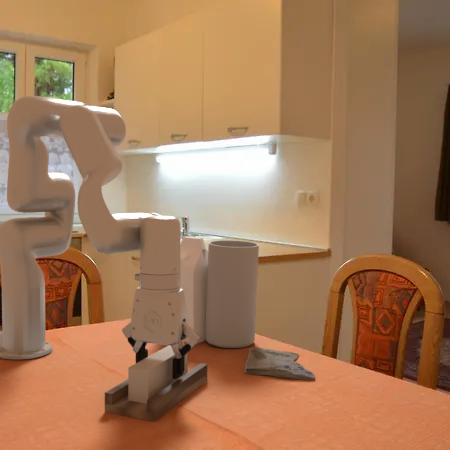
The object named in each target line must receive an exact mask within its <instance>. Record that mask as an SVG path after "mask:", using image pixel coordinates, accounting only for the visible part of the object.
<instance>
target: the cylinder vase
mask: <svg viewBox="0 0 450 450" xmlns="http://www.w3.org/2000/svg"><path fill="white" fill-rule="evenodd" d="M259 249H260V244H259V243H257V242H253V241H248V240H246V241H245V240H244V241H243V240H233V239H232V240H231V239H230V240H224V239H223V240H212V241H209V242H208V249H207V251H208V274H207V301H206V328H205V339H206V341H205V342H207V343H208V344H210V345H211V346H214V347H217V348H218V347H219V348H224V349H243V348H247V347H249V346H251V345H253V344H254V343H255V341H256V340H255V336H256V335H255V334H256V315H257V297H258V295H257V294H258V275H259V272H258V271H259V251H260V250H259Z"/></svg>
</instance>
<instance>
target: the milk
mask: <svg viewBox="0 0 450 450" xmlns="http://www.w3.org/2000/svg"><path fill="white" fill-rule="evenodd" d="M207 274H208V249H207V248H206V245H205V241H204V238H202V237H195V236H182V238H181V240H180V289H183V292H184V296H185V302H186V309H187V324H188V325H189V326H190V327H191V329H192V330H193V331H194V332H195V333H196V334H197V335H198V336H199V337H200V340H199V341H198V342H200V343H202V342H201V341H203V342H206V341H205V340H206V339H205V328H206V301H207ZM183 341H184V343H186V342H188V341H189V338H188V337H186V339H184V340H183ZM198 342H197V344H199V343H198Z"/></svg>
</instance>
